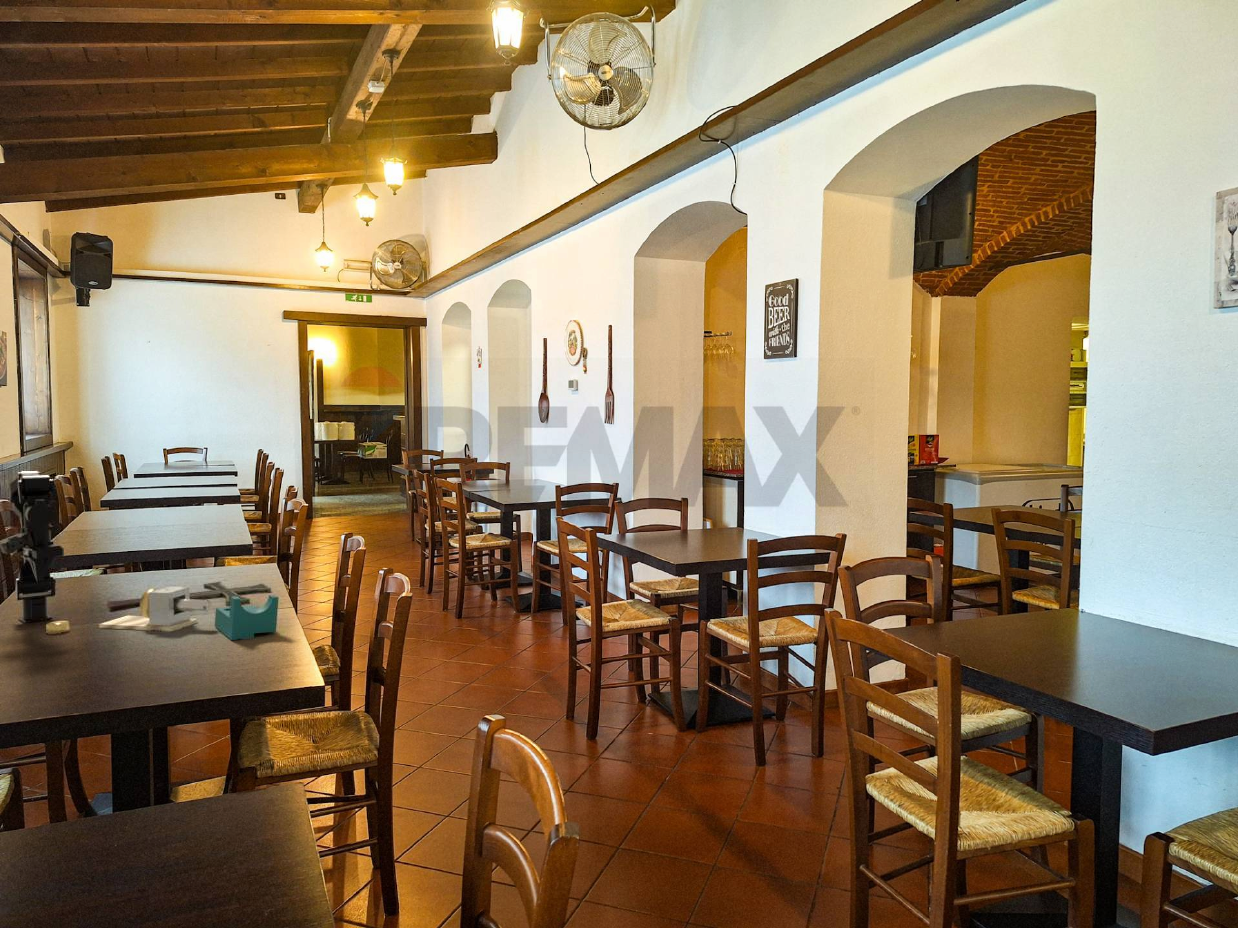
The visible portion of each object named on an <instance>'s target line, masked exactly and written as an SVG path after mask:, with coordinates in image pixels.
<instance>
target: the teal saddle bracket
mask: <svg viewBox="0 0 1238 928" xmlns="http://www.w3.org/2000/svg"><path fill="white" fill-rule="evenodd" d="M279 598H280V597H278V596H277V595H276V594H269V595H268V598H267V601H266V602H265V604H264V605H263V606H262V607H261V606H259V605H245V606H244V605H243V604H241V601H240V598H239V597H237V596H234V597H231V601H230V605H229V606H221V607H219V606H218V607H215V617H214V618H215V619H214V627H215V628H216V629H217V630H219V631H220V632H221V633H222V634H223V635H224V636H226V637H227V638H229V640H230V641H236V640H237V639H241V640H247V639H246V638H250V639H254V638H255V634H259V633H260V634H261V633H263V634H264V633H277V625H278V624H277V622H278V612H279V611H278V609H279V608H278V607H279ZM242 605H243V606H242ZM237 641H238V640H237Z"/></svg>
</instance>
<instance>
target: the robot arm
mask: <svg viewBox="0 0 1238 928" xmlns="http://www.w3.org/2000/svg"><path fill="white" fill-rule="evenodd" d="M8 489H9V492H8V493H9V494H8V497H9V504H12V510H13V513H15V515H16V516H18V517H19V519H20V527H21V528H20V529H19V531H20V532H19V533H16V534H13V535H11V536H8V537H6V538H4V539H1V540H0V551H1V552H2V554H5V555H10V554H14V553H17V554H19V553H20V552H22V553H23V554H22V555H20V556H21V558H23V564H22V565H21V567H20V569H19V571H18V576H17V577H18V578H16V579H15V590H14V591H15V599H16V601H21V602H22V616H20V617H17V618H18V620H19V621H21V622H23V623H31V622H38V621H44V620H45V621H46V620H50V619H53V616H52V615H49V613H48V598H50V597H51V598H53V597H54V596H56V586H57V583H56V582H57V580H56V579H55V578H54V575H52V574H51V573H50V572H51V571H50V570H51V569H50V566H51V563H52V562H53V560H54V558H57V557H64V556H65V551H64V550H65V548H64V547H62V546H61V545H59V544H54V540H52V539H51V536H52V535H51V533H52V532H51V531H53V530H54V526H53V525H51V523H52V522H53V520H54V519H55V511H54V510H53V509H52V507H51V506H50V504H49V503H50V502H56V499H58V489H57V484H56V482H55V480H54V479H53V478H52V479H51V476H50V475H49V474H48V475H47V474H46V475H40V471H37V470H33V471H32V470H29V471H25V470H24V471H20V472H17V477H16V478H15V479H14V480H13V481H12V482H11V483H10V484H9V488H8Z"/></svg>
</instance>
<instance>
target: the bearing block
mask: <svg viewBox="0 0 1238 928" xmlns="http://www.w3.org/2000/svg"><path fill="white" fill-rule="evenodd" d="M158 589H159V590H155V591H152V592H149V621H150V626H166V627H170V626H173V625H176V624H179V623H182V622H185V621H187V620H190V619H191V611H174V605H173V598H174V599H189V593H190V587H189V586H166V587H164V588H163V587H162V588H158Z"/></svg>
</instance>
